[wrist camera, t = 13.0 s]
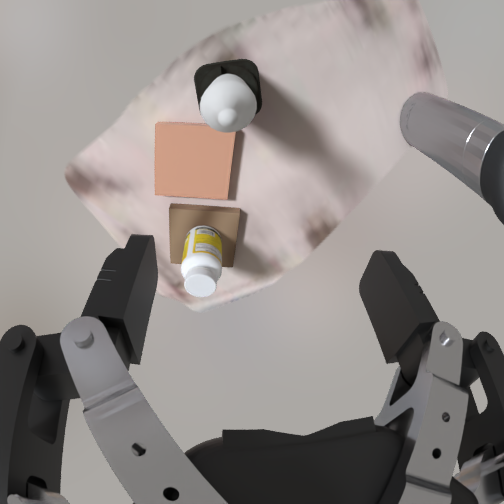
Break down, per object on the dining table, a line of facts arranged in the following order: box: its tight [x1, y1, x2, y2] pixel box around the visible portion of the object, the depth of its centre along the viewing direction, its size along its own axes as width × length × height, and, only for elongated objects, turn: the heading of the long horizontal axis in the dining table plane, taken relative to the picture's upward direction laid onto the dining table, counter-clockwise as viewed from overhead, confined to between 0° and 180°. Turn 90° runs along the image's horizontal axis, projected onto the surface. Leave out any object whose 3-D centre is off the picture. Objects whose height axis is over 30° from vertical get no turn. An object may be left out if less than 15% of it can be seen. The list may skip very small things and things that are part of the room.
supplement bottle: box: [181, 226, 222, 297], centre depth 39 cm, size 5×5×10 cm
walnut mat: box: [169, 203, 240, 267], centre depth 43 cm, size 10×10×2 cm
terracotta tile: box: [155, 122, 236, 200], centre depth 36 cm, size 10×10×2 cm
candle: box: [194, 59, 262, 133], centre depth 20 cm, size 5×5×25 cm
